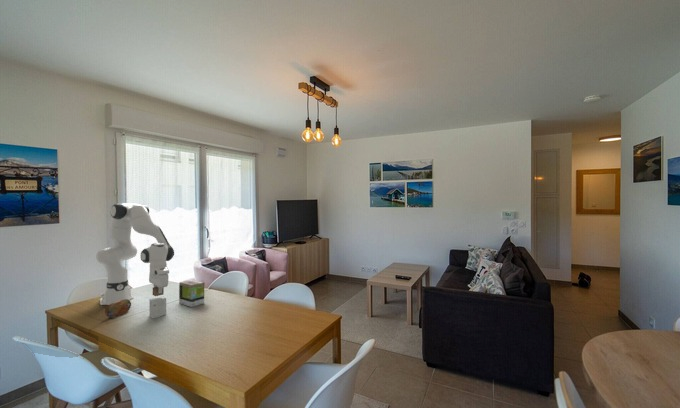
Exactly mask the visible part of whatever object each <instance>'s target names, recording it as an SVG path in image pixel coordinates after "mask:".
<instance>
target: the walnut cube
mask: <svg viewBox="0 0 680 408" xmlns="http://www.w3.org/2000/svg"><path fill="white" fill-rule="evenodd" d="M164 288H165V287H163V289H162V293H158V290H159V288H158V287H154V286H153V287H152V296H154V297H160V296H165V295H164V294H165V293H164V292H165V290H164Z"/></svg>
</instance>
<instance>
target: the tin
mask: <svg viewBox="0 0 680 408" xmlns="http://www.w3.org/2000/svg"><path fill="white" fill-rule="evenodd" d="M131 306H132V301H130V300H128V299H125V300H120V301H117V302H115V303H112V304H109V305H107V306H106V308H105V310H104V315H105V317H106V318H112V319H113V318H114V319H115V318H117V317H118V316H121V315H123V314H126V313H128V312H129V311H130V310H131Z"/></svg>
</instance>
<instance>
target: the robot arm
mask: <svg viewBox="0 0 680 408" xmlns="http://www.w3.org/2000/svg"><path fill="white" fill-rule="evenodd" d="M110 216H111V217H112V218H113V221H112V224H111V229H110V230H111V231H110V238H111V239H112V240H113V241H115V246H108V247H105V248H102V249H99V250H98V251H97V253H96V260H97V262H98V263H100V264H101V265H102V266H103V267H105V269H106V274H107V275H106V277H107V282H106V285H105V286H106V288H105V290H103V291H104V292H102V293H100V297H101V298H99V304H100V306H106V305H107V306H108V305H109V304H112V303H115V302H117V301H120V300H125V299H128V300H129V301H130V300H133V299H134V296H133V295H132V290H131V286H129V280H128V269H127V268H126V267H124V266H123V265H122V264H121V262H122V261H128V260H131V259H133V258H135V257H136V256H137V254H138V249H137V247H136V246H135V245H133V243H132V239H131V236H132V229H133V230H134V232H136V233H138V234H140V235H146V236H150V237H153V238H154V239H155V240H156V242H154V243H152V244H150V245H149V247H146V248H144V249H142V250H141V252H140V261H142V262H143V263H144V264H149V274H148V282H149V283H150V284H152V286H153V287H158V288H159V290H158V293H162V289H163V287H164V288H167V287H168V285H169V274H170V269H169V268H168V266H167V265H168V263H167V262H169V261H170V260H172V259H173V258H174V256H175V250H174V248H173V247H172V245H171V244H170V243H169V241H168V239H167V238H166V235H165V234H164V232H163V230H162V229H161V227H160V226H159V225H157V224H156V223H154V221H153V220H152V218H151V216H150V208H149V207H148V205H145V204H141V203H115V204H113V205H112V206H111V208H110Z"/></svg>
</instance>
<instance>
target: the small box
mask: <svg viewBox="0 0 680 408" xmlns="http://www.w3.org/2000/svg"><path fill="white" fill-rule="evenodd" d="M166 315H167V297H166V296H165V295H161V296H156V297H152V298H150V299H149V317H150V318H151V319H155V318H158V317H159V318H160V317H161V316H166Z"/></svg>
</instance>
